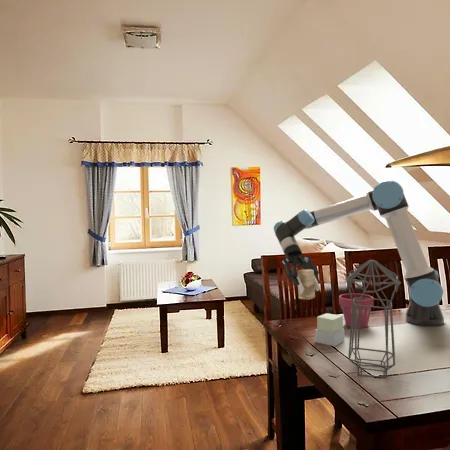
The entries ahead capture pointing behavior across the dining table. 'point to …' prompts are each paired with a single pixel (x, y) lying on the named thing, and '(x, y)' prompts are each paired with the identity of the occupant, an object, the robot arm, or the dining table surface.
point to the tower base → (329, 337)
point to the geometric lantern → (354, 307)
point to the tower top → (330, 322)
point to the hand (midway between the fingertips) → (310, 290)
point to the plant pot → (365, 311)
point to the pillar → (306, 284)
